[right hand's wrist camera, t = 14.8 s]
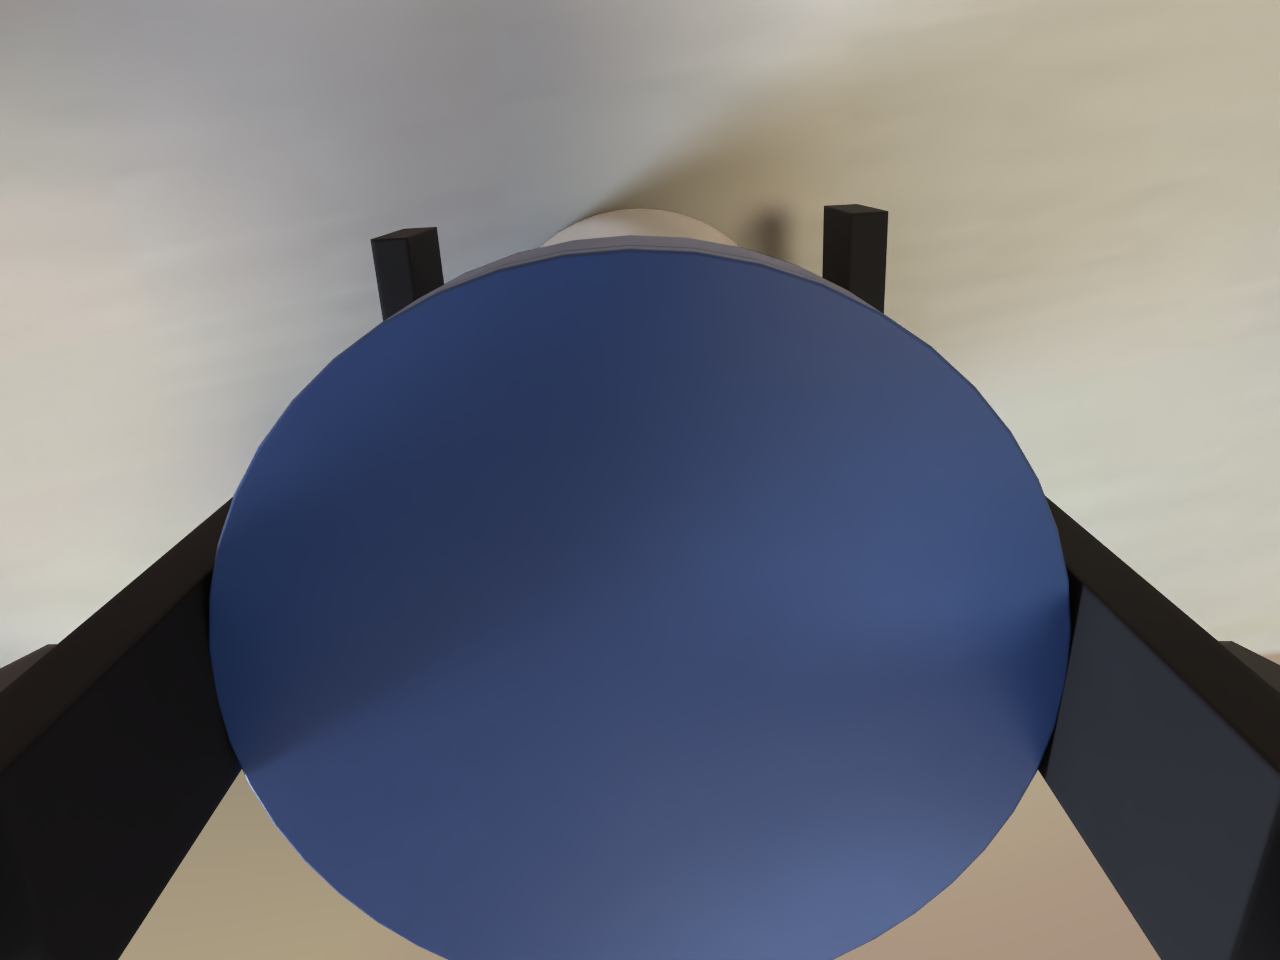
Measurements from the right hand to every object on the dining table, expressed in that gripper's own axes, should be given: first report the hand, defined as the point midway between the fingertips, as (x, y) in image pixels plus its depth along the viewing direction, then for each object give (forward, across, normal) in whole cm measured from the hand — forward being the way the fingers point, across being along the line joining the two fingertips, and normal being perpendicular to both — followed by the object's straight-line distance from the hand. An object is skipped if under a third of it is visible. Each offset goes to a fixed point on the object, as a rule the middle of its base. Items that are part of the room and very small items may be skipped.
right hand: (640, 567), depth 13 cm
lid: (-3, 0, 0) cm, 3 cm away
